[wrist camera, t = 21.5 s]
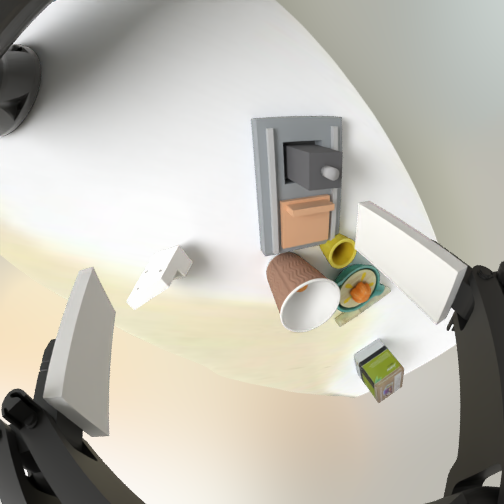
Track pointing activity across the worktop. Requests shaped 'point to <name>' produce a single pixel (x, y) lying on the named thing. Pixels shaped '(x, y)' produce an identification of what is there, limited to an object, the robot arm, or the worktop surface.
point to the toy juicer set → (352, 279)
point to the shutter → (305, 220)
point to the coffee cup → (301, 303)
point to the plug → (313, 166)
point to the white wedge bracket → (159, 275)
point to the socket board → (272, 171)
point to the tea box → (379, 370)
